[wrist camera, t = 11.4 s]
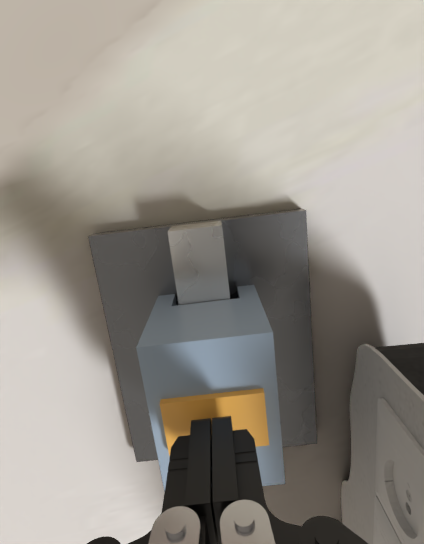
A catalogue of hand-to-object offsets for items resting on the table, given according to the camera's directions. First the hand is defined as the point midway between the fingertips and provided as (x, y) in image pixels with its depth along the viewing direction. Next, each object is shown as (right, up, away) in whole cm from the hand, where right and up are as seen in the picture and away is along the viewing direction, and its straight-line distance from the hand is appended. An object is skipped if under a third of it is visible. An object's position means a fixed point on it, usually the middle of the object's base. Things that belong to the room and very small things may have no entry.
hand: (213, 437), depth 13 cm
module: (0, +2, +7) cm, 7 cm away
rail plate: (0, +2, +7) cm, 8 cm away
